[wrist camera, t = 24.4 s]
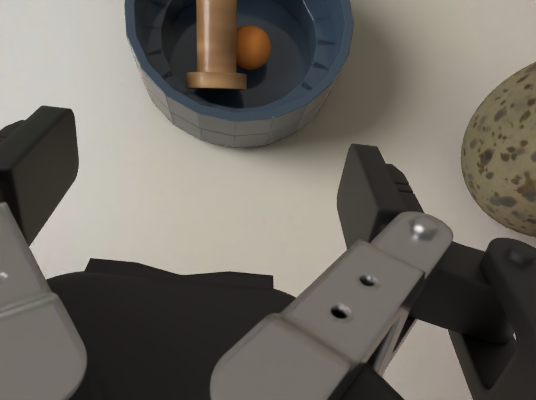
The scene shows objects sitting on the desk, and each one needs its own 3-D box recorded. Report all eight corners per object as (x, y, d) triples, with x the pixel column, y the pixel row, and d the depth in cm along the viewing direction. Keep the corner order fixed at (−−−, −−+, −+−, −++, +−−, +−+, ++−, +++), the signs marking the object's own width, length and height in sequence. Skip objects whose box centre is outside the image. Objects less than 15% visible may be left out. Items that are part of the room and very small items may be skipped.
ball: (272, 50, 34) (238, 73, 34) (251, 13, 32) (216, 37, 33) (283, 58, 31) (247, 82, 32) (262, 18, 30) (223, 44, 30)
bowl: (186, 180, 32) (179, 156, 26) (111, 9, 34) (90, -45, 28) (364, 106, 34) (391, 71, 29) (283, -48, 36) (294, -108, 31)
